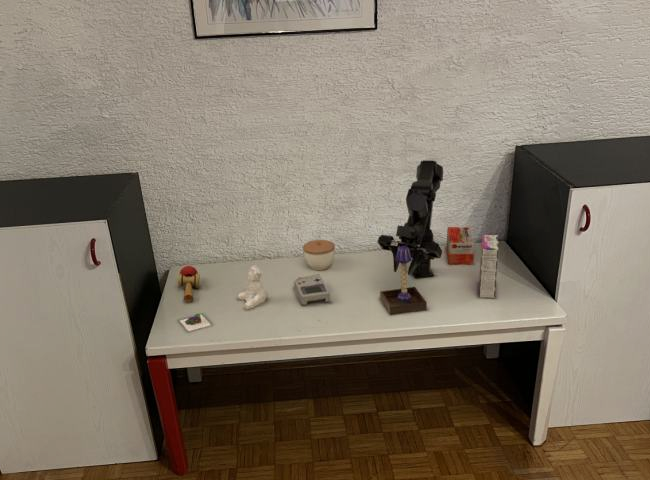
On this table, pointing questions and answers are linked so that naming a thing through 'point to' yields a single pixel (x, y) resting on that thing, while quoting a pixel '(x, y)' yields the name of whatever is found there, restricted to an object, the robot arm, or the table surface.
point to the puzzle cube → (195, 322)
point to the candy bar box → (488, 266)
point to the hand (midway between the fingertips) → (401, 273)
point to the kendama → (188, 281)
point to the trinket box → (319, 254)
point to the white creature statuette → (253, 289)
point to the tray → (402, 307)
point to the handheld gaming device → (311, 289)
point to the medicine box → (460, 245)
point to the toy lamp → (403, 271)
